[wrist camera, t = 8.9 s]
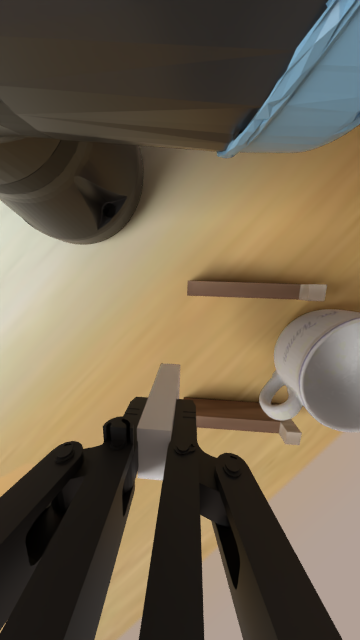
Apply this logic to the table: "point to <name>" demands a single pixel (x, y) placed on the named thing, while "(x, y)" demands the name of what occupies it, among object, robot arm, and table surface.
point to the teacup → (318, 369)
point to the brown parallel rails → (240, 412)
